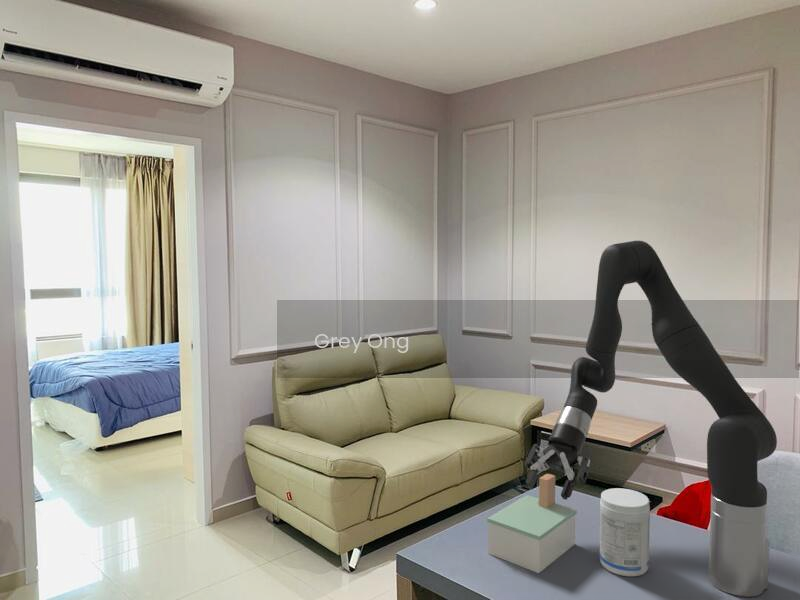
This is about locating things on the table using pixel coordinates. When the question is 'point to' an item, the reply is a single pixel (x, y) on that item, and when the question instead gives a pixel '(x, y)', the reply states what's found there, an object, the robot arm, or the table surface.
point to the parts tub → (531, 545)
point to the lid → (534, 512)
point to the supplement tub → (624, 531)
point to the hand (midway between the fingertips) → (546, 492)
